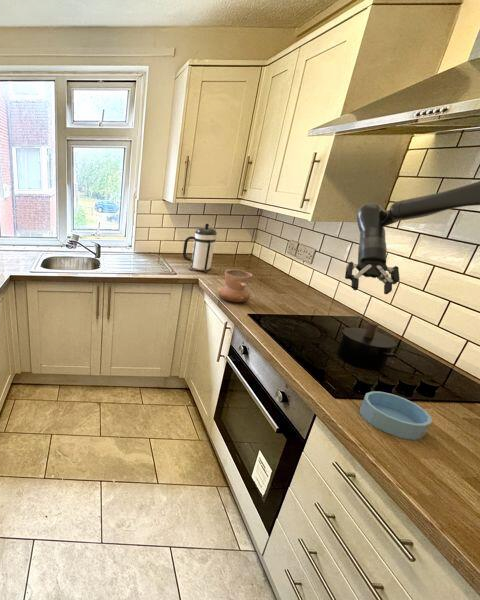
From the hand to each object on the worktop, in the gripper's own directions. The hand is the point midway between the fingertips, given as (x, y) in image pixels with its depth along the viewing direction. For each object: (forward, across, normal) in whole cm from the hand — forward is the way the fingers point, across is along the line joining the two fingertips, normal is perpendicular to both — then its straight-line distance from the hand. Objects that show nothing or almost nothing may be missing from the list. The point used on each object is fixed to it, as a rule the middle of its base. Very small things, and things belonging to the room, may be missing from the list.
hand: (371, 291), depth 109 cm
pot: (+23, 0, -7) cm, 24 cm away
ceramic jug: (-6, +41, -36) cm, 55 cm away
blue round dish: (+46, +1, +16) cm, 49 cm away
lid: (+17, 0, -1) cm, 17 cm away
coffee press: (-38, +64, -69) cm, 102 cm away
